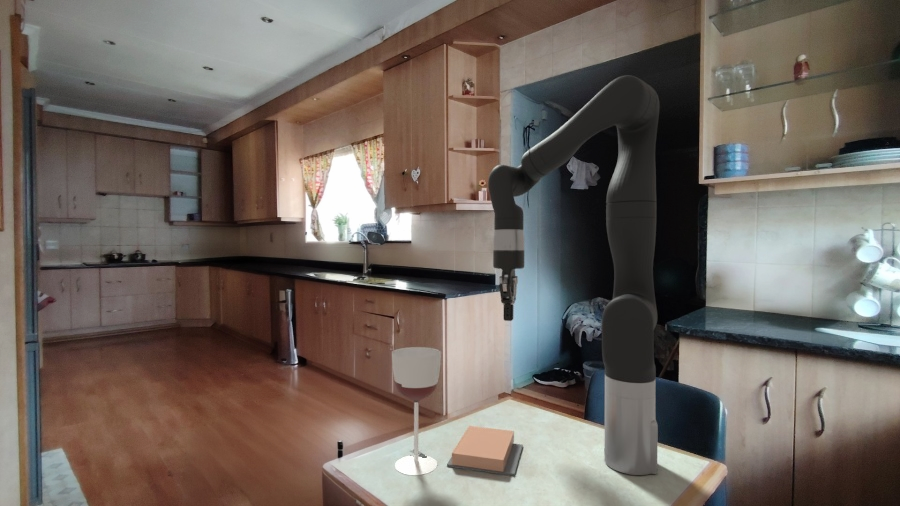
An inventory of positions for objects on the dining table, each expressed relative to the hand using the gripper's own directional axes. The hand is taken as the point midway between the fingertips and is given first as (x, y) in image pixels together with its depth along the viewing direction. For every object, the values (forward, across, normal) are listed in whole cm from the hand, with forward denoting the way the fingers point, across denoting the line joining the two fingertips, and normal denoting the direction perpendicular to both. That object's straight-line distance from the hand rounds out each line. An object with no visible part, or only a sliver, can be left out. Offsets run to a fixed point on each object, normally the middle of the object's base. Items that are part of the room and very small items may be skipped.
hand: (508, 320), depth 107 cm
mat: (+25, -18, +2) cm, 31 cm away
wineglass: (+25, -26, +14) cm, 39 cm away
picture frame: (+23, -11, +2) cm, 26 cm away
